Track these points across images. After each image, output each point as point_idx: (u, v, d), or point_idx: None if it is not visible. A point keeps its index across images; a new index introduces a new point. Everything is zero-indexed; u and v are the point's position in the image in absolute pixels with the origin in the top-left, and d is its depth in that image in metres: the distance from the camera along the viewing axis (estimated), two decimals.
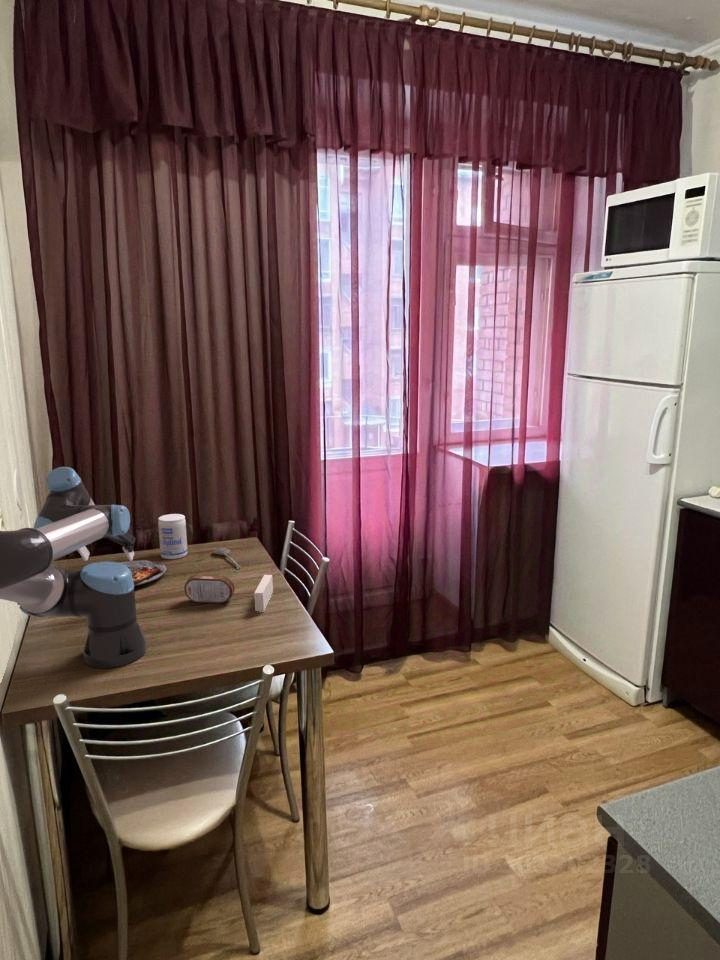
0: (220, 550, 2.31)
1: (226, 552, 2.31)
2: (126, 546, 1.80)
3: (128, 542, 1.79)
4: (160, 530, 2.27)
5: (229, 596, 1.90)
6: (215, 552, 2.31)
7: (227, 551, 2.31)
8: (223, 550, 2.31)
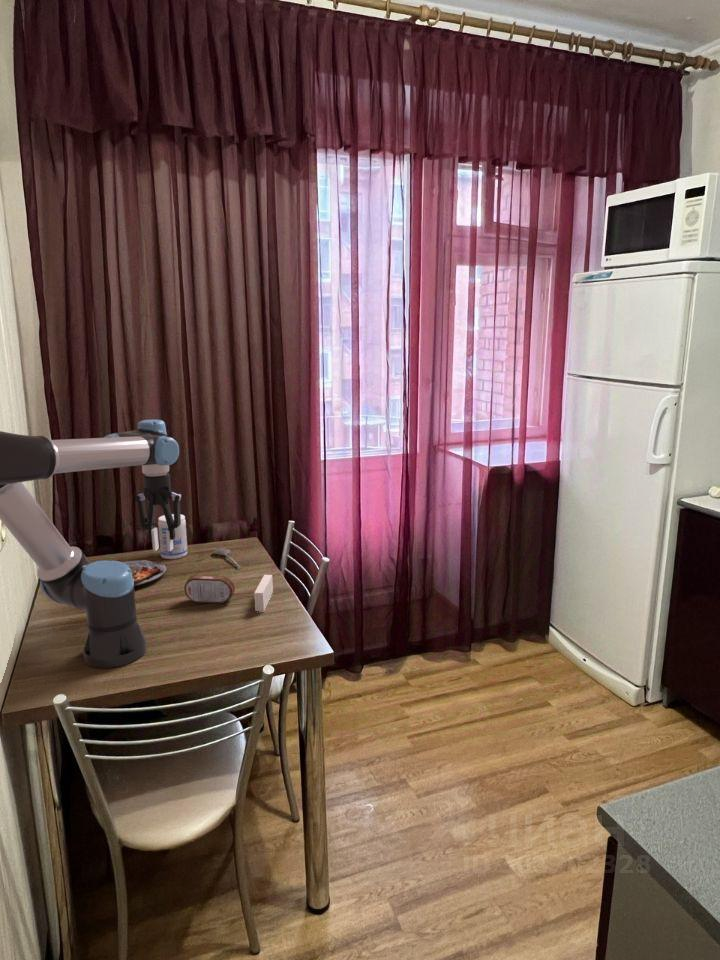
0: (220, 550, 2.31)
1: (226, 552, 2.30)
2: (170, 528, 1.86)
3: (176, 521, 1.86)
4: (160, 530, 2.27)
5: (229, 596, 1.90)
6: (215, 552, 2.30)
7: (227, 551, 2.31)
8: (223, 550, 2.31)
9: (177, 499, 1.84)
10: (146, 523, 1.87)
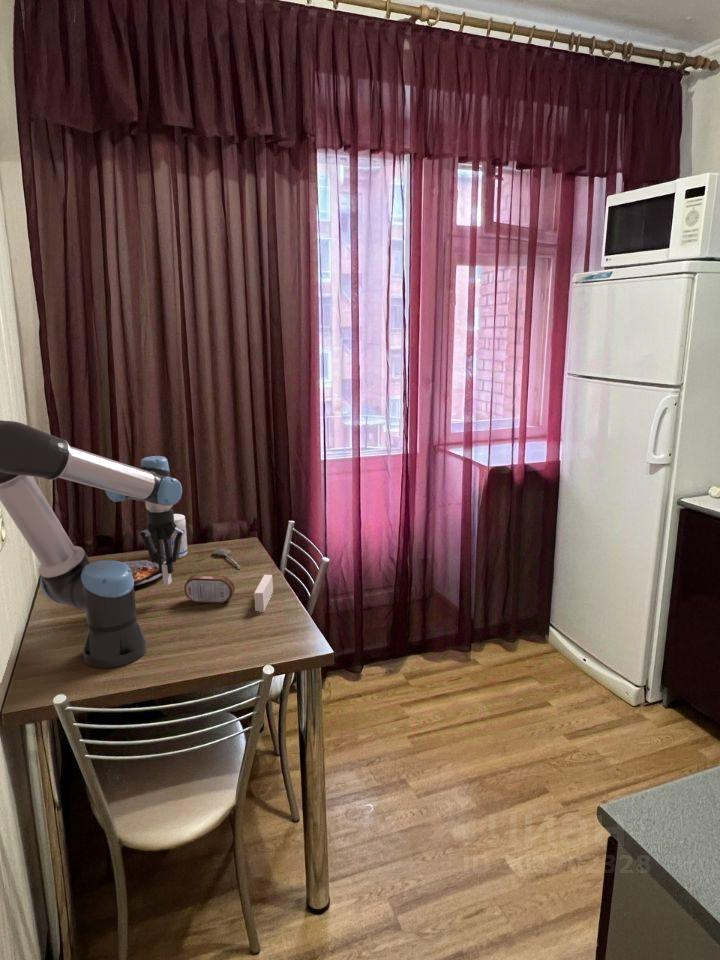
0: (220, 551, 2.30)
1: (226, 553, 2.30)
2: (168, 562, 1.89)
3: (174, 556, 1.88)
4: None
5: (229, 596, 1.90)
6: (215, 553, 2.30)
7: (227, 552, 2.31)
8: (223, 551, 2.31)
9: (179, 536, 1.87)
10: (156, 557, 1.90)
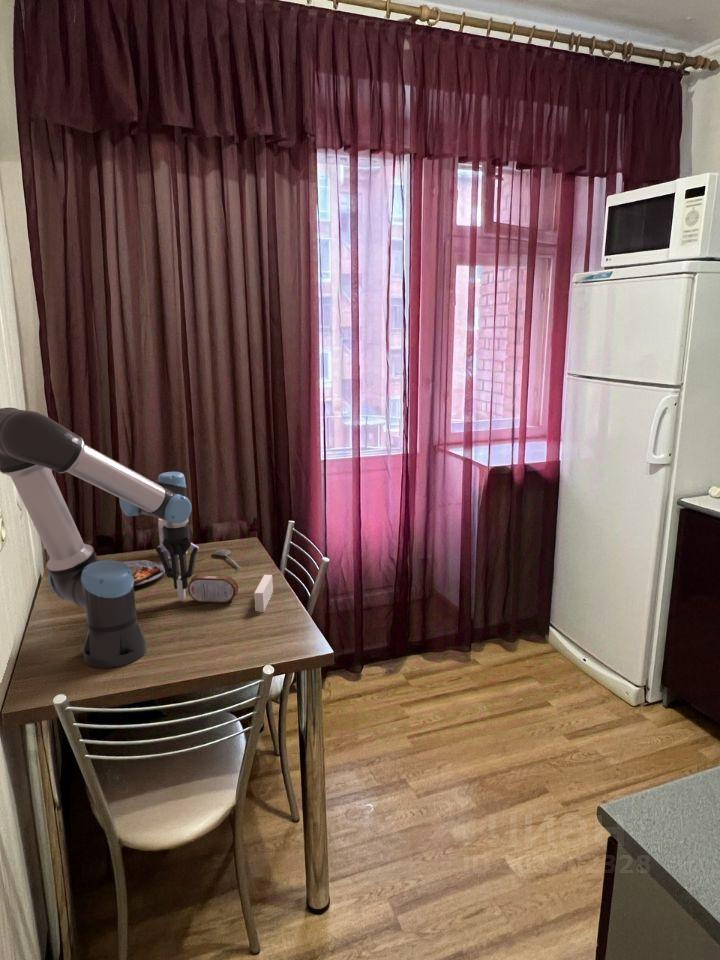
0: (221, 551, 2.30)
1: (227, 553, 2.30)
2: (183, 578, 1.89)
3: (189, 571, 1.89)
4: (160, 530, 2.27)
5: (232, 596, 1.90)
6: (216, 553, 2.30)
7: (228, 552, 2.30)
8: (224, 551, 2.30)
9: (195, 551, 1.88)
10: (171, 572, 1.91)
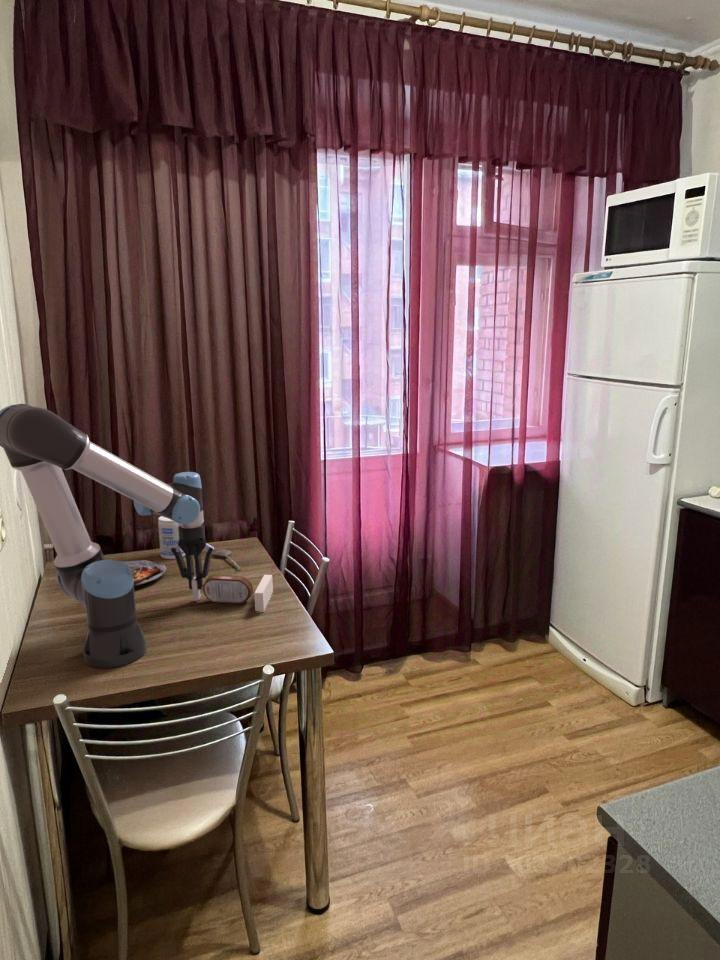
0: (221, 551, 2.30)
1: (227, 553, 2.29)
2: (198, 578, 1.89)
3: (204, 572, 1.89)
4: (160, 530, 2.27)
5: (247, 596, 1.89)
6: (216, 553, 2.29)
7: (228, 552, 2.30)
8: (224, 551, 2.30)
9: (210, 551, 1.87)
10: (186, 573, 1.90)
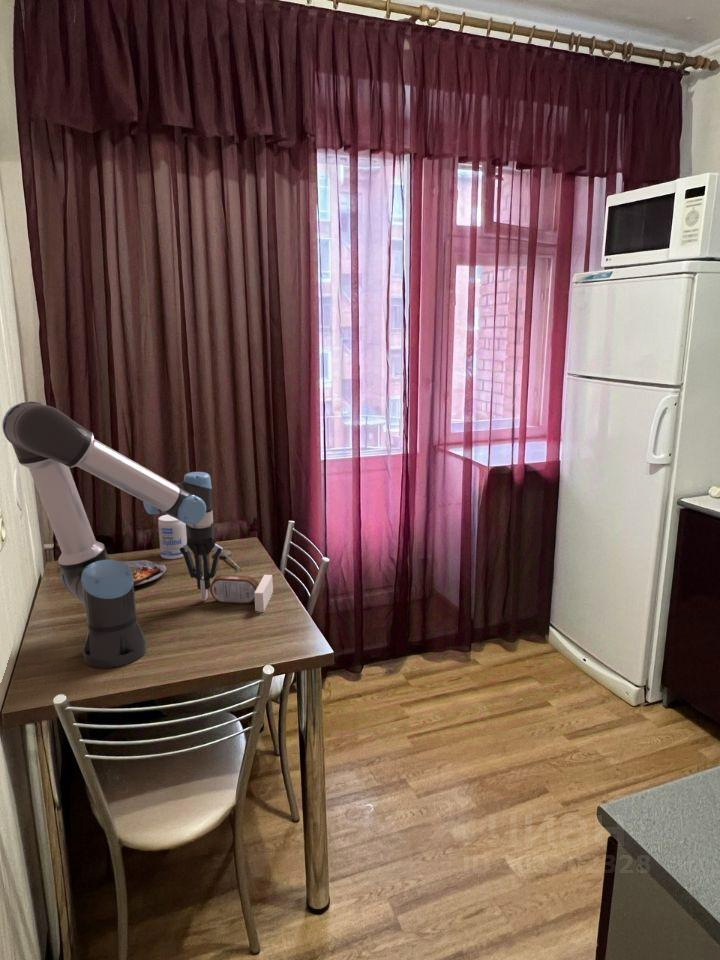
0: (221, 552, 2.29)
1: (227, 554, 2.29)
2: (206, 578, 1.89)
3: (212, 572, 1.89)
4: (160, 530, 2.27)
5: (254, 597, 1.89)
6: None
7: (228, 553, 2.30)
8: (224, 552, 2.29)
9: (219, 552, 1.87)
10: (195, 572, 1.90)
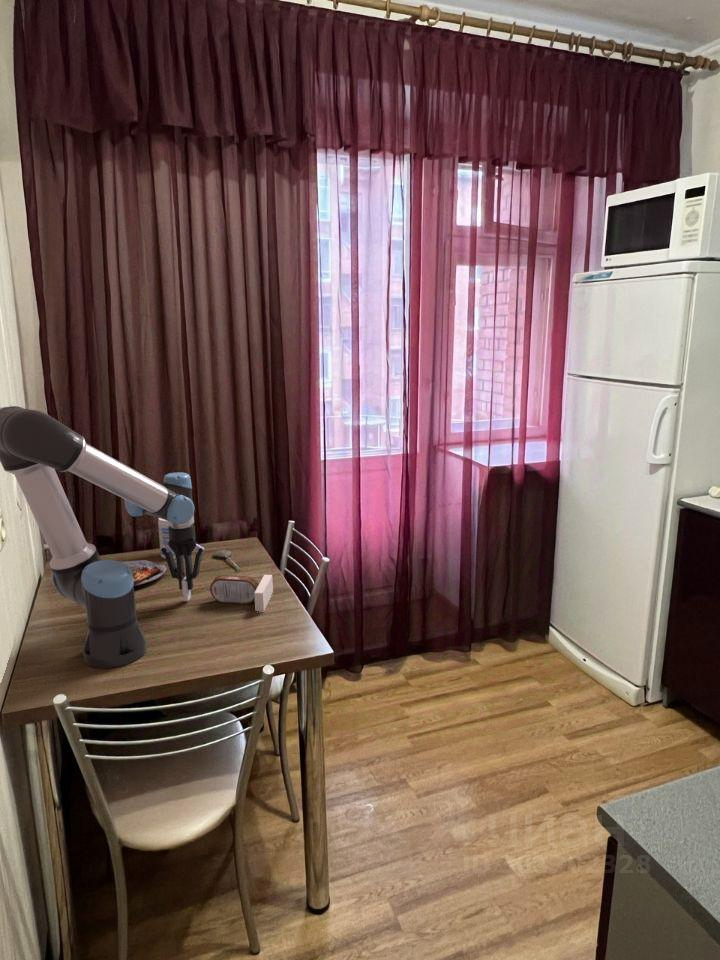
0: (221, 552, 2.29)
1: (227, 554, 2.28)
2: (188, 579, 1.89)
3: (194, 572, 1.89)
4: (160, 530, 2.27)
5: (254, 597, 1.89)
6: (216, 554, 2.29)
7: (228, 553, 2.29)
8: (224, 552, 2.29)
9: (200, 552, 1.87)
10: (176, 573, 1.90)
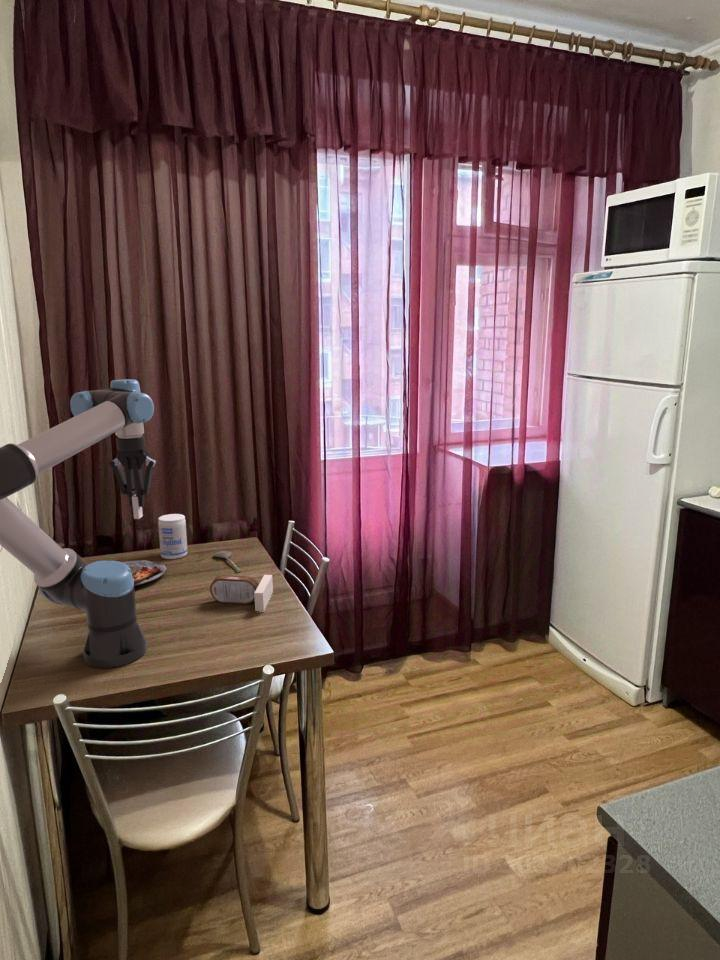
0: (221, 553, 2.28)
1: (227, 555, 2.27)
2: (139, 494, 1.78)
3: (145, 487, 1.77)
4: (160, 530, 2.27)
5: (254, 597, 1.89)
6: (216, 555, 2.28)
7: (228, 554, 2.28)
8: (224, 553, 2.28)
9: (151, 465, 1.76)
10: (126, 489, 1.79)
